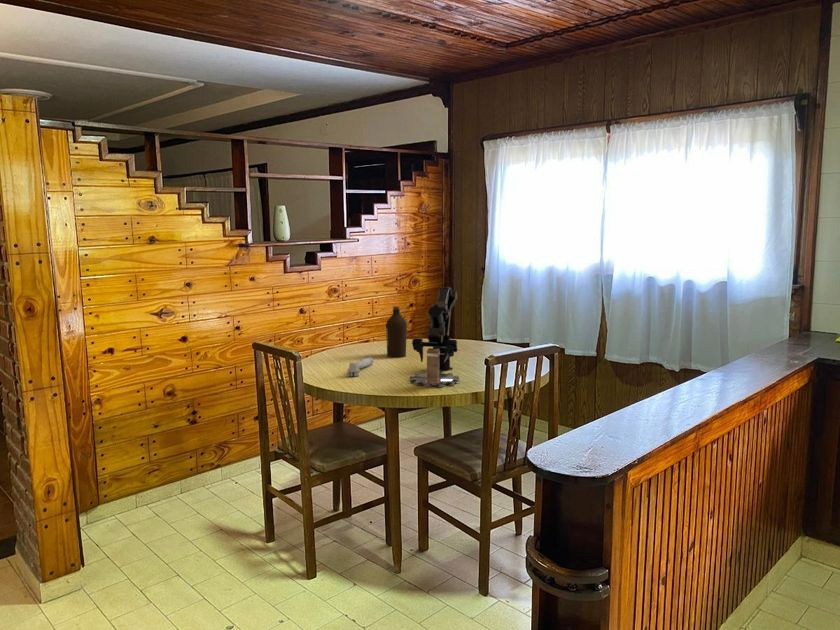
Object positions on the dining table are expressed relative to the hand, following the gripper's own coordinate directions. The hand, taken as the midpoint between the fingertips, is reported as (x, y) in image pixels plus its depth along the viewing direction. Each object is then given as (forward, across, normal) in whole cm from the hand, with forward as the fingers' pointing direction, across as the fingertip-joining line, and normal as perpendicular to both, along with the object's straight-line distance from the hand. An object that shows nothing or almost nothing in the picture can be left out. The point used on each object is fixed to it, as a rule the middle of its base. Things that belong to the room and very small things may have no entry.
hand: (432, 362), depth 256 cm
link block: (+5, 0, +7) cm, 8 cm away
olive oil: (-30, -27, +44) cm, 60 cm away
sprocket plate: (+2, 0, +12) cm, 12 cm away
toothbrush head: (-6, -36, +21) cm, 42 cm away
